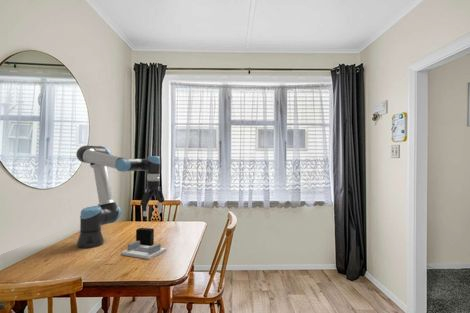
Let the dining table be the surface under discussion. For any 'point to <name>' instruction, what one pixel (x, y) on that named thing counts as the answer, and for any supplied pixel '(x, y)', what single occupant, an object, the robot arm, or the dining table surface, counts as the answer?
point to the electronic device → (145, 236)
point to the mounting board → (143, 250)
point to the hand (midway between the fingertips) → (152, 214)
